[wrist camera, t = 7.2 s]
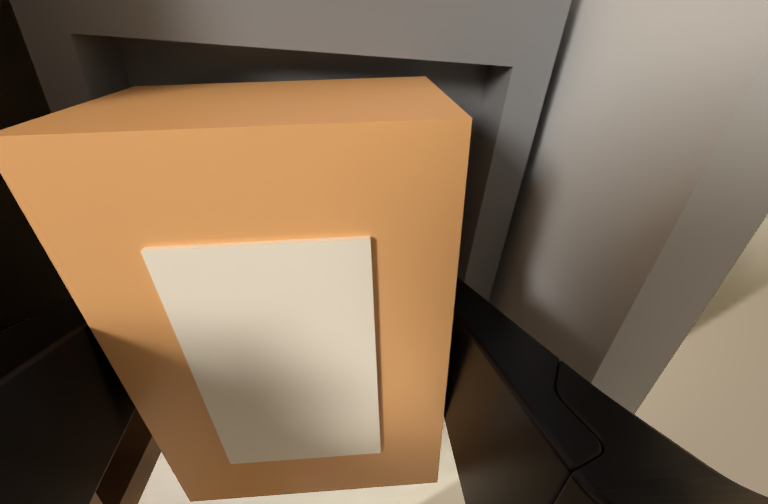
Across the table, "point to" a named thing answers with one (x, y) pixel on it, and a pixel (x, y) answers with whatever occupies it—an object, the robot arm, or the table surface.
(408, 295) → the orange rectangular block
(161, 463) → the table surface
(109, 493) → the box
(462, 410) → the robot arm
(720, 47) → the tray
